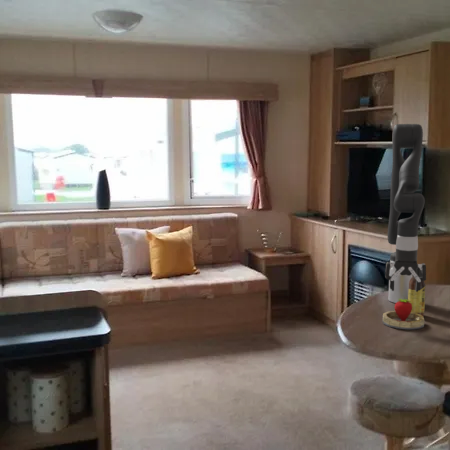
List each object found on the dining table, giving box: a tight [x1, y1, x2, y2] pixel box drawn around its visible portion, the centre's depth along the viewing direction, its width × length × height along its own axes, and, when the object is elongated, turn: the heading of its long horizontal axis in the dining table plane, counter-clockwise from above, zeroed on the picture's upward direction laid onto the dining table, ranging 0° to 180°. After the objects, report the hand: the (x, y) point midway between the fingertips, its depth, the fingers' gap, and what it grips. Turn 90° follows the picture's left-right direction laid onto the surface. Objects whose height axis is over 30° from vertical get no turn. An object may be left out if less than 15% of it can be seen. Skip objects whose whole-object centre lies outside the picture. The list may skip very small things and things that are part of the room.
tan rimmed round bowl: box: [381, 310, 425, 331], centre depth 217 cm, size 15×15×3 cm
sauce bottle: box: [408, 267, 426, 317], centre depth 227 cm, size 7×6×20 cm
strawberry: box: [394, 297, 412, 321], centre depth 217 cm, size 6×8×10 cm
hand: (404, 290), depth 216 cm, fingers open, 8 cm apart
